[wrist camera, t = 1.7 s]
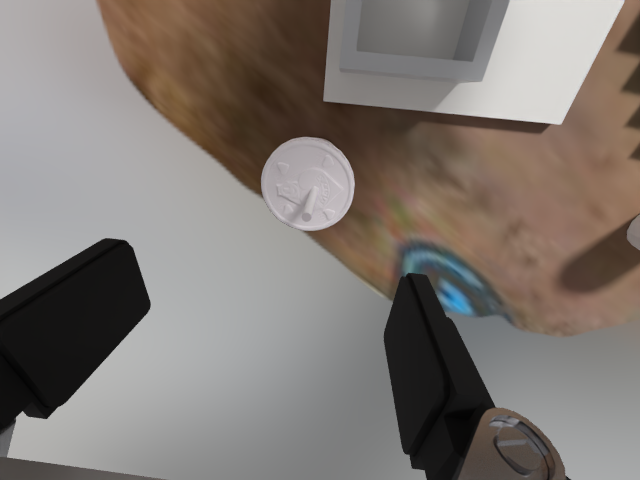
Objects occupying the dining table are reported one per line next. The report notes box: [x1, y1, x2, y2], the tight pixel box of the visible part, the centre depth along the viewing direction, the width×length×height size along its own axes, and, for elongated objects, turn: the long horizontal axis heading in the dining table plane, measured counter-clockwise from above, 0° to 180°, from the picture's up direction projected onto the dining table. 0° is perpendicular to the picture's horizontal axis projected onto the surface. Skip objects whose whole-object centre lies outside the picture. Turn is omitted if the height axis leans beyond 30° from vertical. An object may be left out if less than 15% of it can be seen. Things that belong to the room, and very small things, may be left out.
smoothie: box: [261, 137, 355, 231], centre depth 19 cm, size 6×6×14 cm
